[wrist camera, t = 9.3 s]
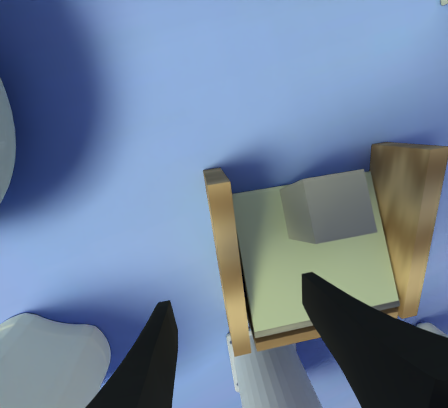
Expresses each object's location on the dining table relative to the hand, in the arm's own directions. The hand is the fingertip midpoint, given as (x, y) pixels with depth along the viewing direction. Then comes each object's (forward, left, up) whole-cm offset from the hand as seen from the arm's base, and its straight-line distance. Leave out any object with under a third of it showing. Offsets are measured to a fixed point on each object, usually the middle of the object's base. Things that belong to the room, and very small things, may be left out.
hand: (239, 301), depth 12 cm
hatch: (-3, -8, -8) cm, 11 cm away
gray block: (+1, -8, -8) cm, 11 cm away
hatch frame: (-2, -8, -10) cm, 13 cm away
